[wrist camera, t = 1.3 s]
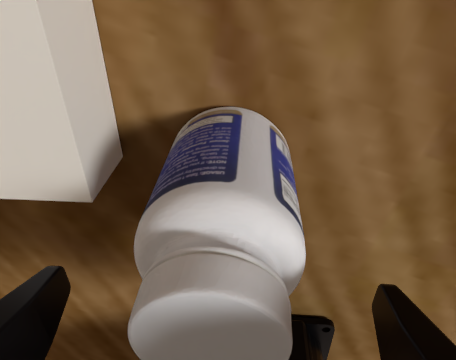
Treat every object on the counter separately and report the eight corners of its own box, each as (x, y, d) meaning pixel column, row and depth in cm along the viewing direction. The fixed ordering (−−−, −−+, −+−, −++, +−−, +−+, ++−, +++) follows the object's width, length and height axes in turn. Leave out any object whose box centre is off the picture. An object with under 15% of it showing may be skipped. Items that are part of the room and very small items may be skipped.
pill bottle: (160, 184, 17) (82, 370, 9) (192, 85, 14) (114, 237, 6) (262, 219, 17) (265, 417, 10) (312, 130, 15) (367, 315, 7)
